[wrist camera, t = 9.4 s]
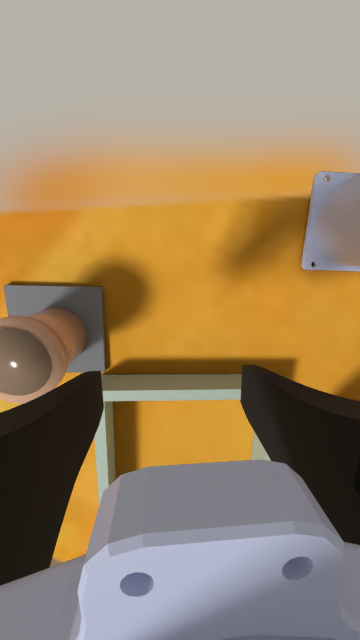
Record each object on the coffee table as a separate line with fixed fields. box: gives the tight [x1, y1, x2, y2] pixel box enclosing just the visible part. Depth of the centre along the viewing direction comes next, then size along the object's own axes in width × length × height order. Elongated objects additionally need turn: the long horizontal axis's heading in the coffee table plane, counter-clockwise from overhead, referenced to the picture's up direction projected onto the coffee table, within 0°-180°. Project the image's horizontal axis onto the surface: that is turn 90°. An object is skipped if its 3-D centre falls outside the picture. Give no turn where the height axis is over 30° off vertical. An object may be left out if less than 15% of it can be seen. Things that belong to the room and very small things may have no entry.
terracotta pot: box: [0, 308, 87, 403], centre depth 17 cm, size 6×6×6 cm
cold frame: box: [95, 374, 271, 505], centre depth 22 cm, size 17×17×5 cm
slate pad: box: [4, 285, 106, 372], centre depth 21 cm, size 8×8×1 cm
